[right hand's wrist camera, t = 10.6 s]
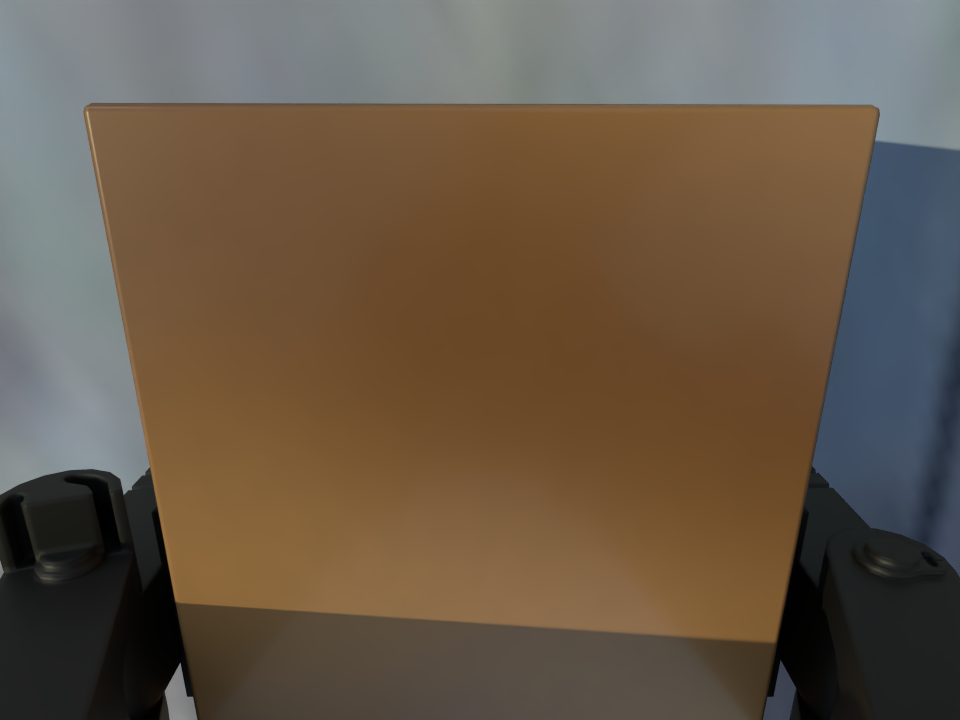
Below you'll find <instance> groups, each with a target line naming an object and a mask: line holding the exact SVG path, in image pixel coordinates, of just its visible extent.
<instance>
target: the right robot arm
mask: <svg viewBox="0 0 960 720" xmlns="http://www.w3.org/2000/svg"><path fill="white" fill-rule="evenodd" d="M0 561H1V564H2V567H3V571H4V573H3V575H2V577H1V579H0V720H169V712H168V706H167V701H166V696H165V689H166V688H167V686H168V684H169V682H170V680H171V678H172V677H173V675H174V673H175V671H176V669H177V667H178V666H179V664H180V662H181V667H182V672H183V678H184V683H185V688H186V693H187V697H193V693H192V687H191V682H190V677H189V671H188V666H187V661H186V655H185V650H184V645H183V639H182V634H181V629H180V624H179V618H178V613H177V608H176V602H175V597H174V592H173V586H172V581H171V576H170V570H169V565H168V560H167V554H166V549H165V544H164V538H163V533H162V528H161V522H160V517H159V512H158V506H157V501H156V496H155V490H154V485H153V480H152V474H151V469H150V468H149V469H148V470H147V471H146V475H145V476H141V478H140V479H139V480H138V481H137V482H136V483H135V484H134V485H133V486H132V490H128V491H127V493H126V494H125V495H123V490H122V486H121V481H120V479H119V478H118V477H116V476H115V475H113V474H112V473H110V472H106V471H100V470H94V469H87V470H69V471H64V472H59V473H55V474H50V475H45V476H42V477H39V478H36V479H33V480H31V481H28V482H25V483H22V484H20V485H18V486H16V487H14V488H12V489H10V490H9V491H7V492H5V493H3V494H1V495H0ZM780 660H781V661H782V663H783V665H784V667H785V668H786V670H787V672H788V674H789V676H790V678H791V679H792V681H793V683H794V685H795V687H796V691H795V696H794V701H793V706H792V710H791V715H790V720H960V578H959V576H958V574H957V572H956V571H955V570H954V569H953V567H952V566H951V565H950V564H949V563H948V562H947V560H946V559H945V558H944V557H942V556H941V555H939V554H938V553H936V552H935V551H933V550H932V549H930V548H929V547H927V546H926V545H924V544H922V543H919V542H917V541H915V540H912V539H910V538H907V537H905V536H903V535H900V534H896V533H892V532H888V531H884V530H879V529H872V528H870V527H869V526H868V525H867V524H866V523H865V522H864V521H863V520H862V519H861V517H860V516H859V515H858V514H857V513H856V512H855V511H854V510H853V509H852V508H851V507H850V506H849V505H848V504H847V503H846V502H845V500H844V499H843V498H842V497H841V496H840V495H839V494H838V493H837V492H836V491H835V490H834V489H833V488H829V484H828V482H827V481H826V480H825V479H824V478H823V477H822V476H821V475H820V474H819V473H816V472H815V469H814V468H813V467H811V473H810V478H809V483H808V488H807V493H806V498H805V504H804V509H803V514H802V519H801V524H800V529H799V535H798V540H797V545H796V550H795V555H794V560H793V566H792V571H791V576H790V581H789V586H788V591H787V597H786V602H785V607H784V612H783V617H782V622H781V628H780V633H779V638H778V643H777V648H776V653H775V659H774V664H773V669H772V674H771V679H770V684H769V690H768V695H767V697H773V696H774V691H775V685H776V680H777V675H778V670H779V665H780Z"/></svg>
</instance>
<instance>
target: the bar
mask: <svg viewBox="0 0 960 720" xmlns="http://www.w3.org/2000/svg"><path fill="white" fill-rule="evenodd" d="M879 116H880V113H879V109H878V108H877V107H875V106H873V105H708V104H261V103H91V104H89V105H87V106H85V107H84V118H85V123H86V128H87V134H88V139H89V144H90V150H91V155H92V160H93V166H94V171H95V176H96V182H97V187H98V192H99V198H100V203H101V208H102V214H103V219H104V224H105V230H106V235H107V240H108V246H109V251H110V256H111V262H112V267H113V272H114V278H115V283H116V288H117V293H118V299H119V304H120V309H121V315H122V320H123V325H124V331H125V336H126V341H127V347H128V352H129V357H130V363H131V368H132V373H133V379H134V384H135V389H136V395H137V400H138V405H139V411H140V416H141V421H142V427H143V432H144V437H145V443H146V448H147V453H148V458H149V464H150V469H151V474H152V480H153V485H154V490H155V496H156V501H157V506H158V512H159V517H160V522H161V528H162V533H163V538H164V544H165V549H166V554H167V560H168V565H169V570H170V576H171V581H172V586H173V592H174V597H175V602H176V608H177V613H178V618H179V624H180V629H181V634H182V639H183V645H184V650H185V655H186V661H187V666H188V671H189V677H190V682H191V687H192V693H193V698H194V703H195V709H196V714H197V719H198V720H763V715H764V710H765V705H766V700H767V695H768V690H769V684H770V679H771V674H772V669H773V664H774V659H775V653H776V648H777V643H778V638H779V633H780V628H781V622H782V617H783V612H784V607H785V602H786V597H787V591H788V586H789V581H790V576H791V571H792V566H793V560H794V555H795V550H796V545H797V540H798V535H799V529H800V524H801V519H802V514H803V509H804V504H805V498H806V493H807V488H808V483H809V478H810V473H811V467H812V462H813V457H814V452H815V447H816V442H817V436H818V431H819V426H820V421H821V416H822V411H823V405H824V400H825V395H826V390H827V385H828V380H829V374H830V369H831V364H832V359H833V354H834V349H835V343H836V338H837V333H838V328H839V323H840V318H841V312H842V307H843V302H844V297H845V292H846V287H847V281H848V276H849V271H850V266H851V261H852V256H853V250H854V245H855V240H856V235H857V230H858V225H859V219H860V214H861V209H862V204H863V199H864V194H865V188H866V183H867V178H868V173H869V168H870V163H871V157H872V152H873V147H874V142H875V137H876V132H877V127H878V121H879Z"/></svg>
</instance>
